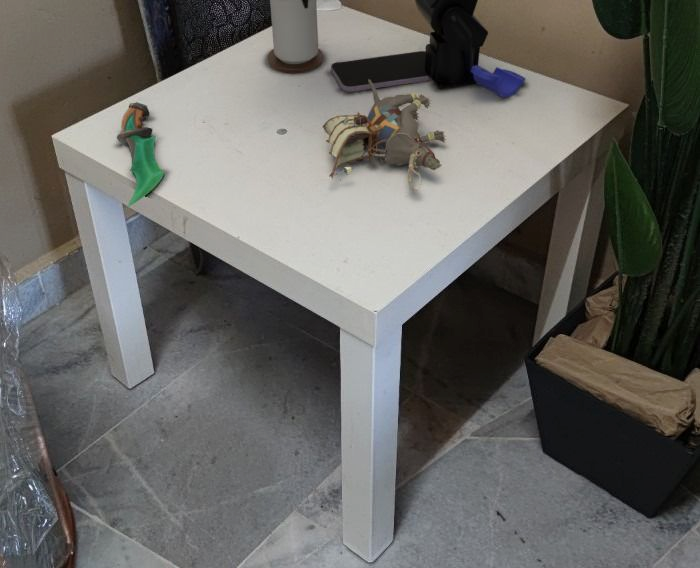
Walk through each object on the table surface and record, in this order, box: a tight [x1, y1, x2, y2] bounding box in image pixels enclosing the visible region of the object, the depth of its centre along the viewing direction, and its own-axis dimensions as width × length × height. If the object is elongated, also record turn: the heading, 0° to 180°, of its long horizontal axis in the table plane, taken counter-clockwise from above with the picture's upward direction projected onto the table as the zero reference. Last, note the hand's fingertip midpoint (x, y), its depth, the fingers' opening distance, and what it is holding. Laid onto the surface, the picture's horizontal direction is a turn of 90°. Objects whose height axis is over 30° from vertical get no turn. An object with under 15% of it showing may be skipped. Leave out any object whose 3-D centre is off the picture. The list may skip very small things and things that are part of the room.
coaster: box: [267, 48, 324, 74], centre depth 132 cm, size 8×8×1 cm
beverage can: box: [269, 0, 319, 64], centre depth 128 cm, size 6×6×12 cm
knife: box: [116, 101, 165, 208], centre depth 113 cm, size 21×2×5 cm
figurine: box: [322, 79, 447, 194], centre depth 112 cm, size 20×6×17 cm
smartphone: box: [330, 50, 432, 92], centre depth 129 cm, size 7×1×15 cm
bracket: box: [471, 64, 526, 99], centre depth 124 cm, size 9×5×3 cm, turn 129°
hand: (340, 2), depth 116 cm, fingers open, 9 cm apart
